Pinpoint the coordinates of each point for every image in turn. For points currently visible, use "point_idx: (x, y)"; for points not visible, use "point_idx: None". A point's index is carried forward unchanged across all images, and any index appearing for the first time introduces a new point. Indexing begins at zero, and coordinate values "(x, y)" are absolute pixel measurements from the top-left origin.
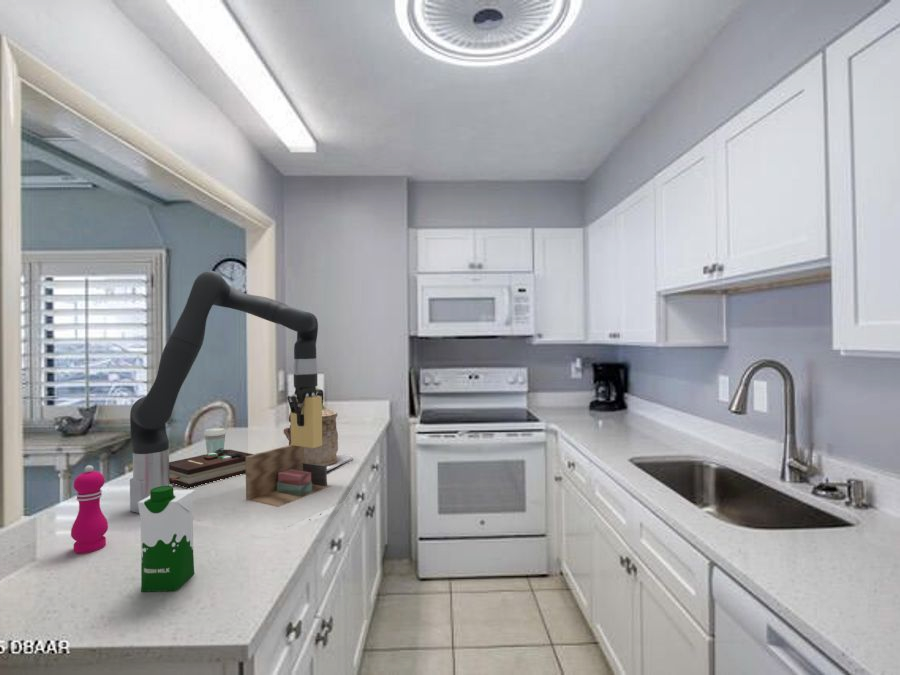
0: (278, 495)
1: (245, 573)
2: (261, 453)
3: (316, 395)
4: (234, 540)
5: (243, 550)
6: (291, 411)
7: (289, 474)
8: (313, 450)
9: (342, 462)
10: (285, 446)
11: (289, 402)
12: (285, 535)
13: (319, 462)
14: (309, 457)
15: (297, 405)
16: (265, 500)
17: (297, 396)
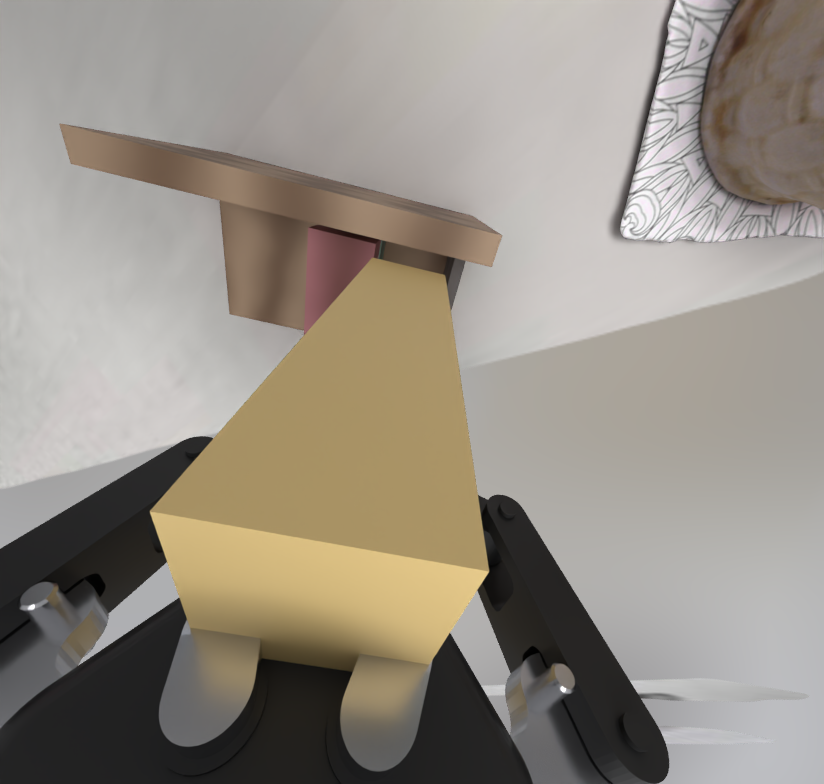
0: (300, 248)
1: (38, 419)
2: (171, 175)
3: (512, 714)
4: (72, 320)
5: (68, 368)
6: (175, 448)
7: (309, 291)
8: (778, 121)
9: (784, 234)
10: (376, 207)
11: (23, 550)
12: (160, 399)
13: (728, 160)
14: (746, 99)
15: (153, 565)
16: (245, 236)
17: (119, 678)
